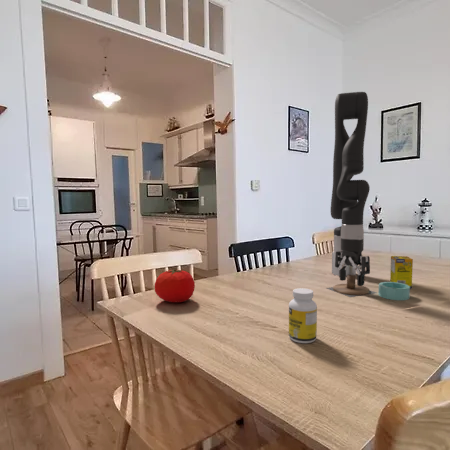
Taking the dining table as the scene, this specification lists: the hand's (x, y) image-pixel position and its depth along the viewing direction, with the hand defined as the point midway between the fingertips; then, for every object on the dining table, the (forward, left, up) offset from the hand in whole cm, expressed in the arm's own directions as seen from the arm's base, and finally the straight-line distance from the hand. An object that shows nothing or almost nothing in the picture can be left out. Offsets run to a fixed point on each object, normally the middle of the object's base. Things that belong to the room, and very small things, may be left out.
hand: (351, 282), depth 117 cm
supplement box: (+2, +22, -4) cm, 23 cm away
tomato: (-15, -60, -4) cm, 62 cm away
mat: (0, 0, -3) cm, 3 cm away
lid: (0, 0, -3) cm, 3 cm away
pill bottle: (+26, -39, -3) cm, 47 cm away
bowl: (+11, +8, -3) cm, 14 cm away
